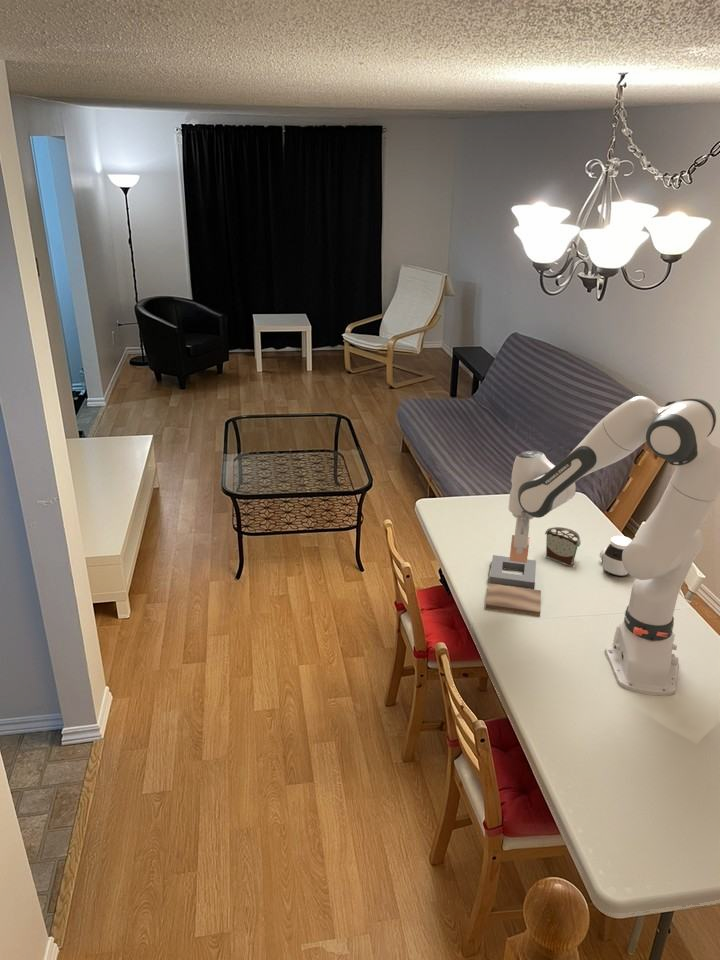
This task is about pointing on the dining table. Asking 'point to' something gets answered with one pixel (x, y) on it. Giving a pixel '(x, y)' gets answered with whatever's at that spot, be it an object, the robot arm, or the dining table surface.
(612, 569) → the spread jar
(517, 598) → the walnut board
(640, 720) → the dining table surface
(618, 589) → the dining table surface
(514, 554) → the terracotta block
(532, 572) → the pocket plate
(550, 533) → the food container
